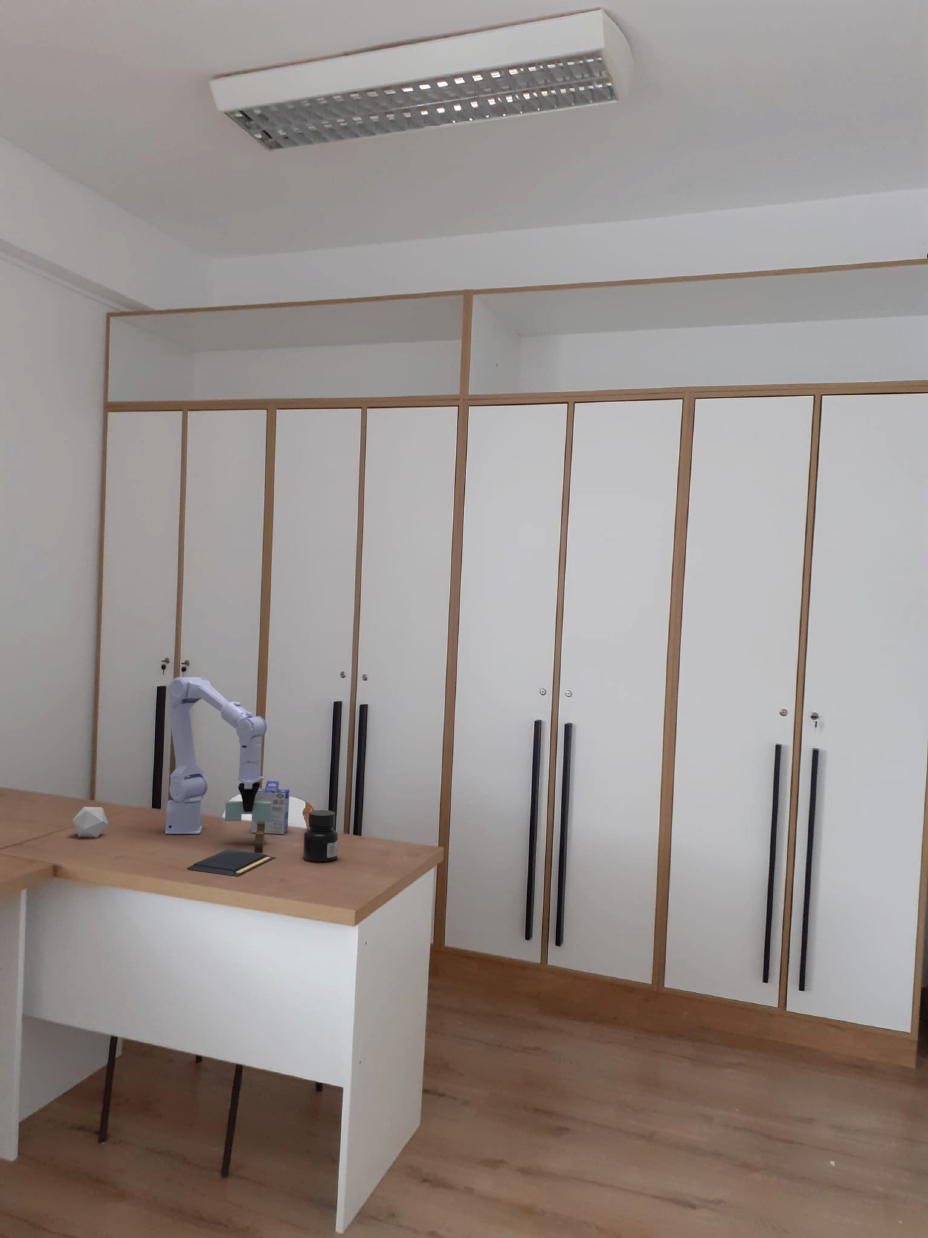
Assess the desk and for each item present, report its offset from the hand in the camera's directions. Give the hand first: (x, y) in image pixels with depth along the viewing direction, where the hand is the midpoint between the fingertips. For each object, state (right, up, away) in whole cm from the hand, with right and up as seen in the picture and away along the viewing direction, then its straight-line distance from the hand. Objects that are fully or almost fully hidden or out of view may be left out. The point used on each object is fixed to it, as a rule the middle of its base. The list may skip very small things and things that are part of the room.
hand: (248, 810), depth 258 cm
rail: (+3, -9, -2) cm, 10 cm away
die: (-44, -7, 0) cm, 44 cm away
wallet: (+1, -10, -21) cm, 23 cm away
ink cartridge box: (+3, -9, +14) cm, 17 cm away
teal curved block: (0, -3, 0) cm, 3 cm away
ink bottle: (+22, -10, -12) cm, 27 cm away
